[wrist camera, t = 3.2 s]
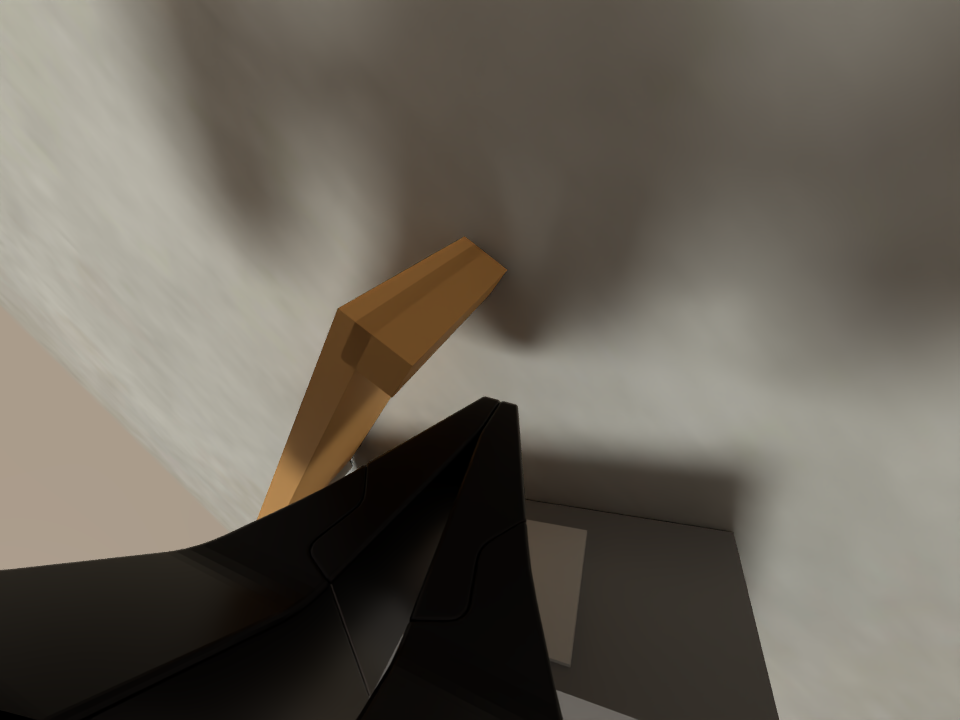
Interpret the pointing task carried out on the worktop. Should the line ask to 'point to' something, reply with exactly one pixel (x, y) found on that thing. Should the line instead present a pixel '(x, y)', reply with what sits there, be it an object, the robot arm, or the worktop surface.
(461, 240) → the brown rectangular block
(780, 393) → the worktop surface
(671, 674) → the case
